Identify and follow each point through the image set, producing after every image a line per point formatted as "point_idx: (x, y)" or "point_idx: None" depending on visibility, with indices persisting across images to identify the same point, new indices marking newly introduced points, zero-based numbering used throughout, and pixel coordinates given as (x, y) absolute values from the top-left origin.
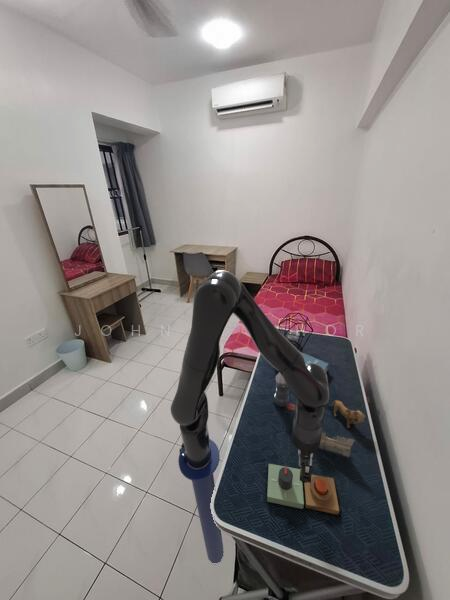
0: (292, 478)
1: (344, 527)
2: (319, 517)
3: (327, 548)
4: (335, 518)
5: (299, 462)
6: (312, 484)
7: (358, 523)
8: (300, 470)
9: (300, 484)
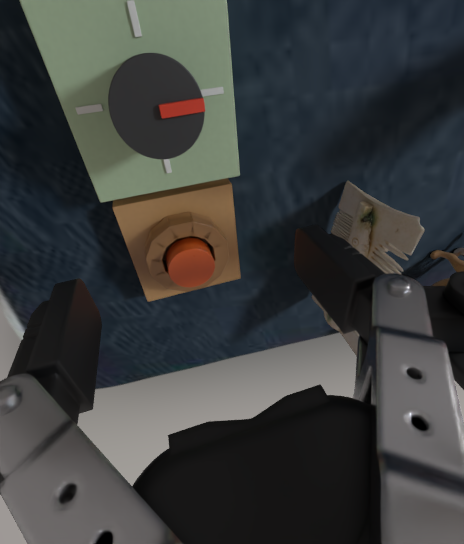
0: (153, 157)
1: (121, 302)
2: (109, 242)
3: (32, 272)
4: (132, 282)
5: (20, 526)
6: (189, 230)
7: (150, 326)
8: (9, 420)
9: (174, 179)
